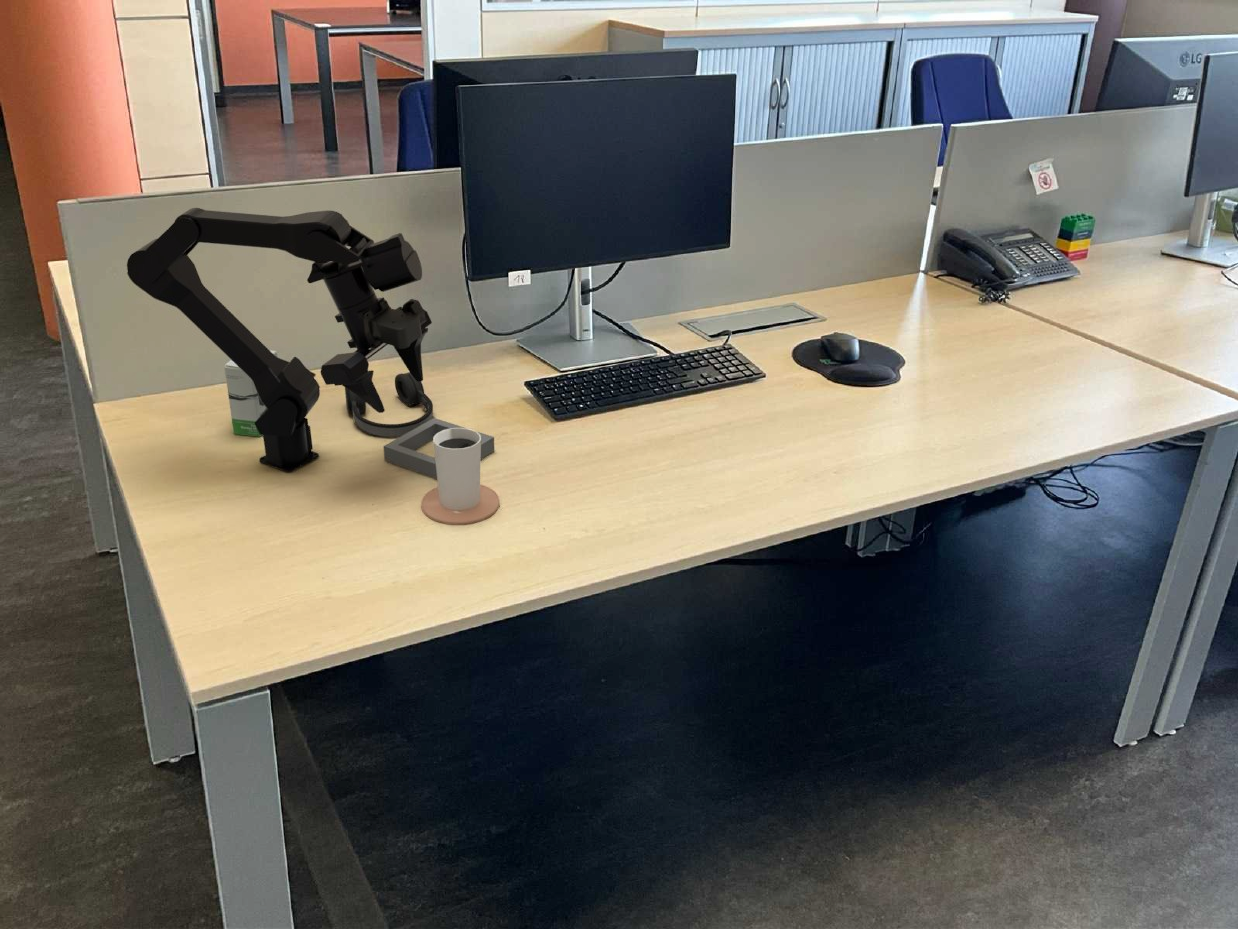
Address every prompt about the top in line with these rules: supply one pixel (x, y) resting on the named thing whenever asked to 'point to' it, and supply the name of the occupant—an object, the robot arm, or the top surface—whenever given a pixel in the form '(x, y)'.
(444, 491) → the grey cup
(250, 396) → the ink box
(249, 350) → the robot arm
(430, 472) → the cup holder
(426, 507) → the coaster
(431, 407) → the headset
